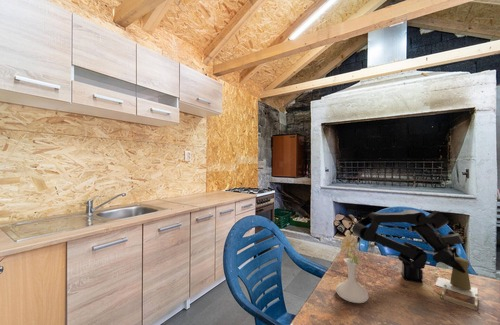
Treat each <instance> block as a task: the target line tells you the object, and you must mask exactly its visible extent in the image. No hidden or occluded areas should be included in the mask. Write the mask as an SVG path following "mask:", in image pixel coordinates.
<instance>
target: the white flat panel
mask: <svg viewBox="0 0 500 325" xmlns="http://www.w3.org/2000/svg"><path fill="white" fill-rule="evenodd" d="M450 280H451V279H447V278H444V277H440V276H438V277H437V279H436V281H435V285H434V286H436V287H438V288H442V289H443V288H444V285H446V290H449V291H452V292H454V293H458V294H461V295H464V296H467V297H470V298H474V299H475V294H477V295H479V294H478V292H479V288H478V287H474V286H471V285H470V286H471V290H464V289H460V288H457V287H455V286H453V285H451V284H450Z"/></svg>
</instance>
